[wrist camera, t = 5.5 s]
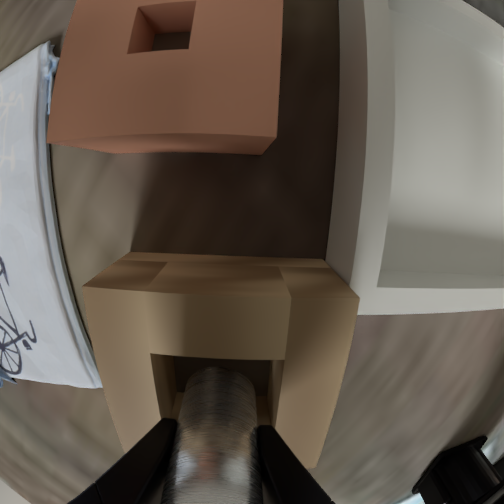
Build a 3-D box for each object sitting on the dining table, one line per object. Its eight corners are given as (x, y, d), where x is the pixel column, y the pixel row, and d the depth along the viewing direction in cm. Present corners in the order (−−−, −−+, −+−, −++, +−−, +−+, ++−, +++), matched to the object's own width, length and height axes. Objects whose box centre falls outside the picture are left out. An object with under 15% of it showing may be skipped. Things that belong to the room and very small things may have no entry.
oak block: (321, 257, 12) (360, 298, 8) (299, 403, 14) (315, 467, 10) (131, 250, 12) (82, 286, 8) (149, 396, 14) (126, 458, 10)
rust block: (269, 25, 10) (284, -46, 5) (261, 155, 11) (276, 137, 6) (133, 28, 10) (88, -29, 5) (115, 153, 11) (46, 142, 6)
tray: (526, 79, 10) (555, 73, 7) (515, 287, 13) (546, 303, 10) (337, -11, 9) (357, -45, 6) (321, 284, 12) (344, 314, 9)
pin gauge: (252, 418, 10) (265, 609, 2) (187, 414, 10) (156, 601, 2) (258, 368, 9) (281, 601, 2) (184, 363, 9) (131, 589, 2)
